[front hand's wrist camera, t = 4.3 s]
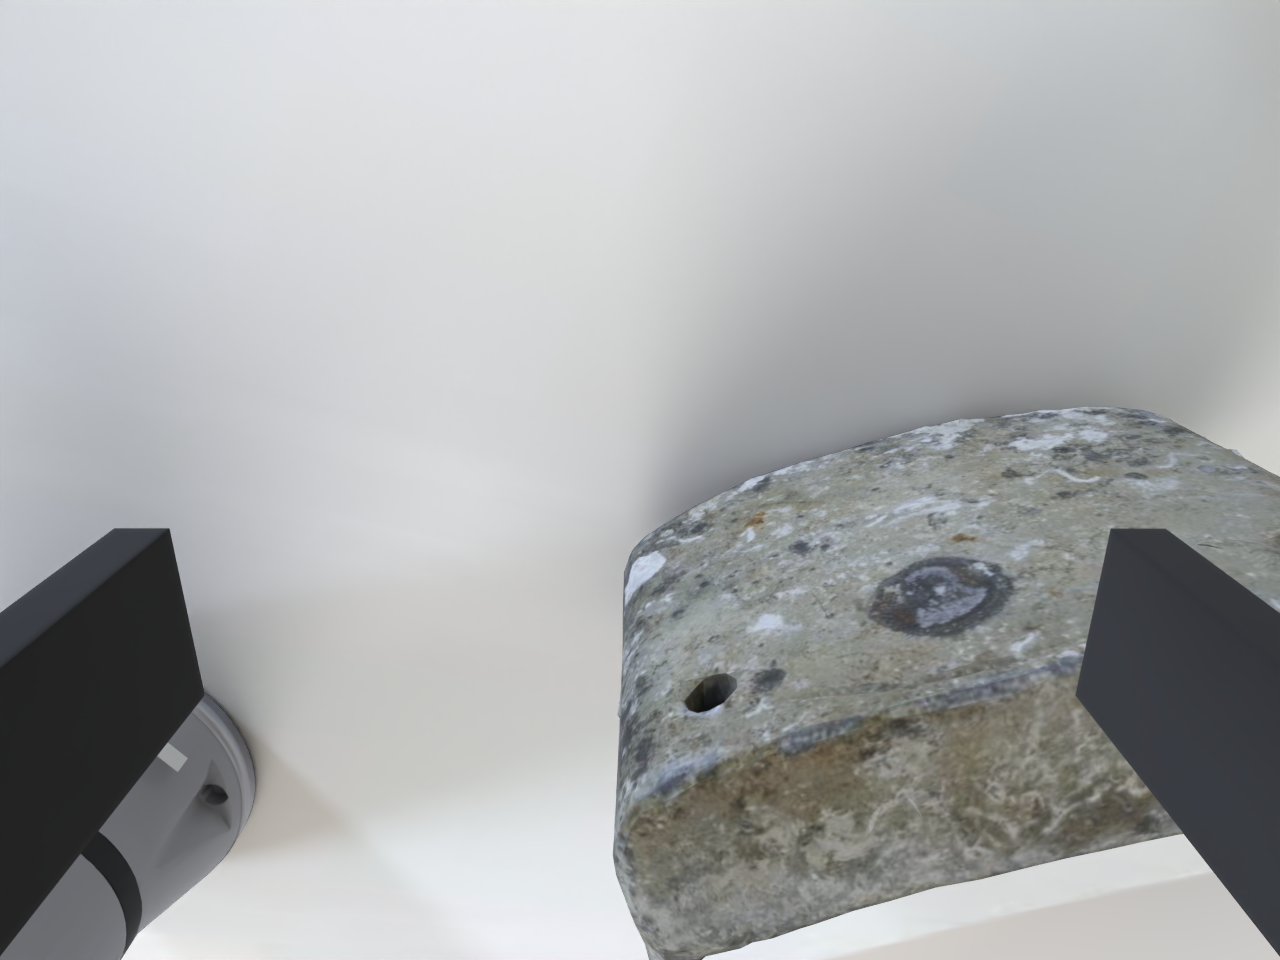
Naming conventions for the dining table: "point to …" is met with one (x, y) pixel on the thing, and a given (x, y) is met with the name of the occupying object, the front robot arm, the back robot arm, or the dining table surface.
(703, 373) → the dining table surface
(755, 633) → the concrete block
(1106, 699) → the front robot arm
